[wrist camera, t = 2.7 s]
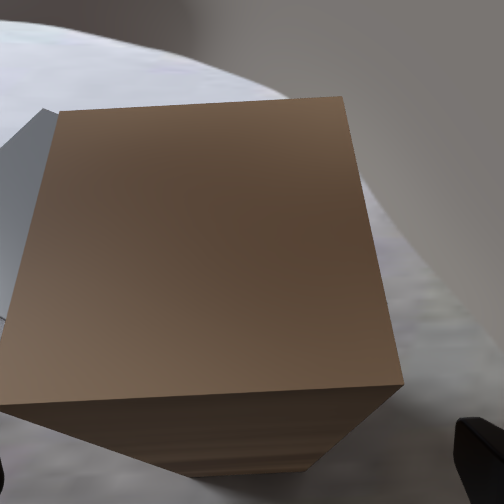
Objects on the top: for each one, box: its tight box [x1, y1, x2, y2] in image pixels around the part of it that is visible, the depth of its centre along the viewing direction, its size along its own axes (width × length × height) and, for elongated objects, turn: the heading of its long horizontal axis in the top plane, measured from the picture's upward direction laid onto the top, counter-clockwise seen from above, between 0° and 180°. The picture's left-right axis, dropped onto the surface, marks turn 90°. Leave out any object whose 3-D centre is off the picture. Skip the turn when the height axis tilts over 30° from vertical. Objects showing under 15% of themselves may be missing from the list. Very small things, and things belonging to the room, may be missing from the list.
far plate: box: [0, 108, 59, 321], centre depth 22 cm, size 13×11×1 cm
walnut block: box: [0, 96, 404, 477], centre depth 12 cm, size 4×4×14 cm
